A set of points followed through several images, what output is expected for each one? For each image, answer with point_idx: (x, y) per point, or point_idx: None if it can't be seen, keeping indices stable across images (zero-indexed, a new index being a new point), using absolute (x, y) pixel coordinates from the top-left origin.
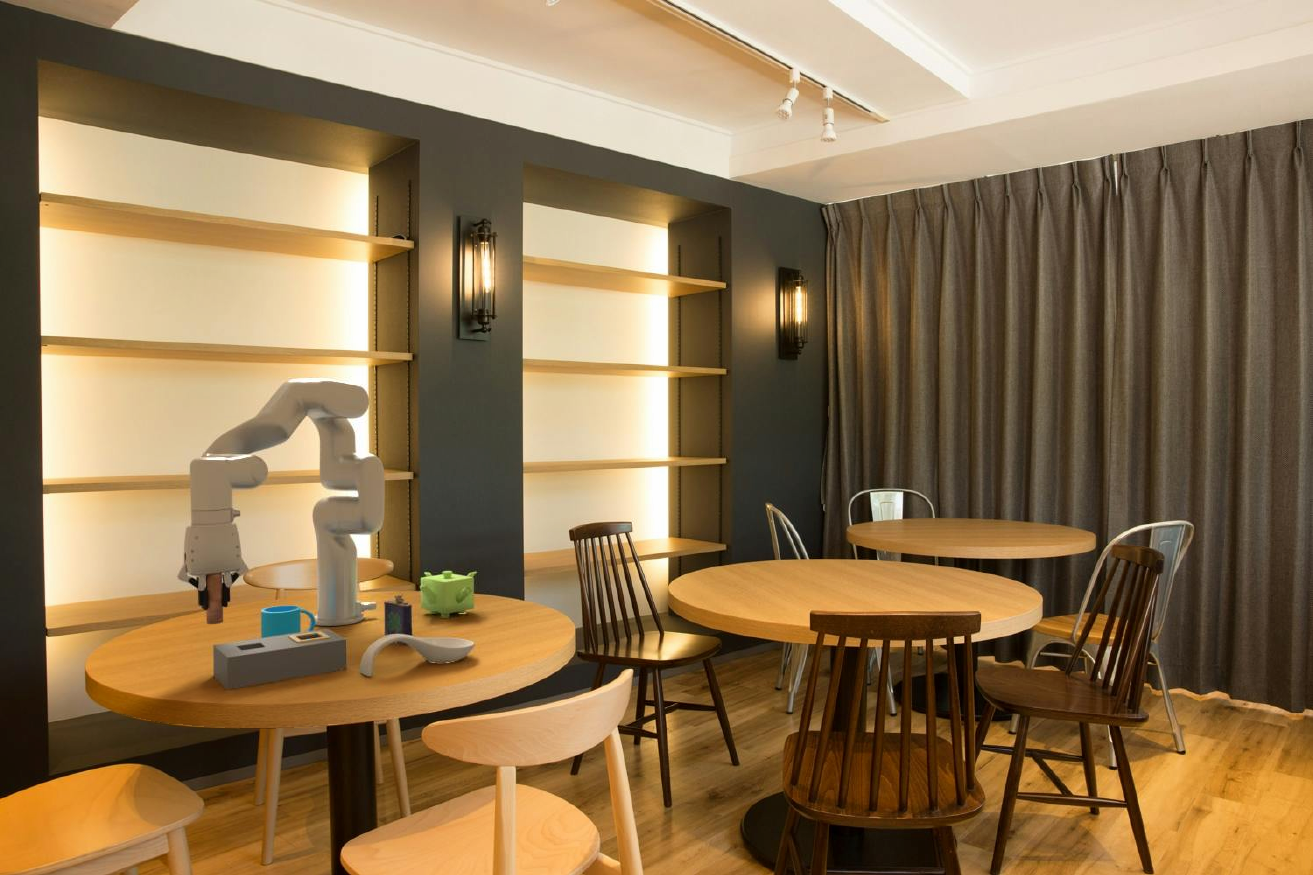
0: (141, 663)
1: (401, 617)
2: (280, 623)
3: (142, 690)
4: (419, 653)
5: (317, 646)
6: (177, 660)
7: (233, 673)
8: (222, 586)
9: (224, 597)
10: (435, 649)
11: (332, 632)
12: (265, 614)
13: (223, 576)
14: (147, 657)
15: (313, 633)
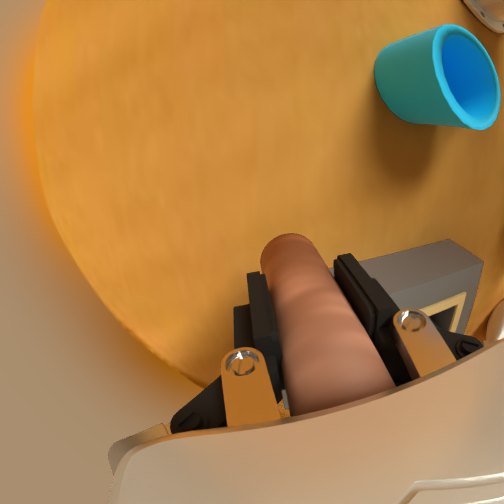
0: (100, 100)
1: None
2: (448, 124)
3: (143, 324)
4: (487, 333)
5: None
6: (176, 100)
7: None
8: (374, 345)
9: None
10: None
11: (473, 297)
12: (438, 92)
13: (414, 370)
14: (112, 47)
15: (453, 305)
